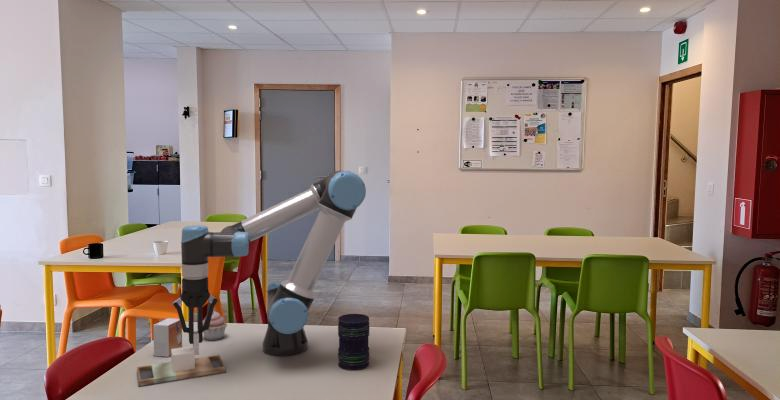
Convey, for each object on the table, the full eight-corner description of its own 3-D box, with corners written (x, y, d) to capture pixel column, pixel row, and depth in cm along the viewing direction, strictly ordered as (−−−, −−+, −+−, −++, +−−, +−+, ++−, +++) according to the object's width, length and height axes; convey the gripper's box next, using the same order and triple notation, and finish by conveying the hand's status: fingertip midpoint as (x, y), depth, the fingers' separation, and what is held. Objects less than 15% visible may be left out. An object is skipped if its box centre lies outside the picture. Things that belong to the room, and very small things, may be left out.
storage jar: (353, 373, 165) (353, 324, 164) (331, 365, 172) (331, 318, 171) (376, 364, 172) (376, 317, 171) (354, 356, 179) (354, 311, 178)
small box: (168, 357, 177) (168, 325, 177) (153, 356, 178) (152, 324, 178) (182, 349, 185) (182, 318, 184) (168, 348, 186) (167, 317, 186)
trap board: (219, 359, 176) (219, 354, 176) (226, 372, 165) (226, 367, 165) (137, 372, 165) (137, 367, 165) (138, 386, 154) (138, 381, 154)
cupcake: (195, 337, 197) (195, 310, 197) (220, 332, 204) (219, 305, 203) (207, 344, 190) (206, 315, 190) (232, 338, 197) (231, 311, 196)
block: (192, 362, 169) (192, 346, 169) (194, 368, 164) (194, 352, 163) (171, 365, 166) (171, 349, 166) (173, 371, 161) (173, 355, 161)
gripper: (215, 272, 171) (215, 346, 173) (170, 276, 165) (171, 352, 167) (219, 277, 164) (220, 354, 166) (173, 281, 159) (174, 360, 160)
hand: (195, 353), depth 166 cm, fingers closed
